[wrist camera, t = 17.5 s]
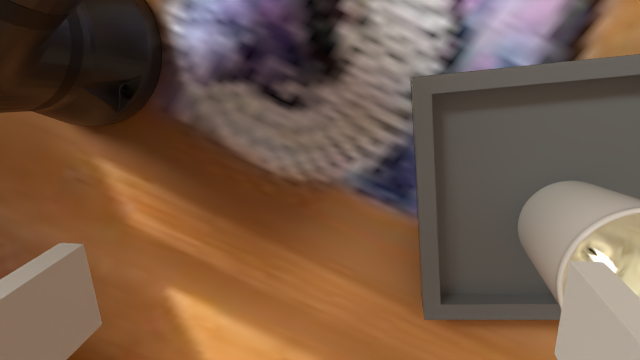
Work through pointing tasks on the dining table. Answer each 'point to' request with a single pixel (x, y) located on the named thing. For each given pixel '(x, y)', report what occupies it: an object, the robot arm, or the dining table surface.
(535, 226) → the candle holder
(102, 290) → the dining table surface
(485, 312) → the tray
